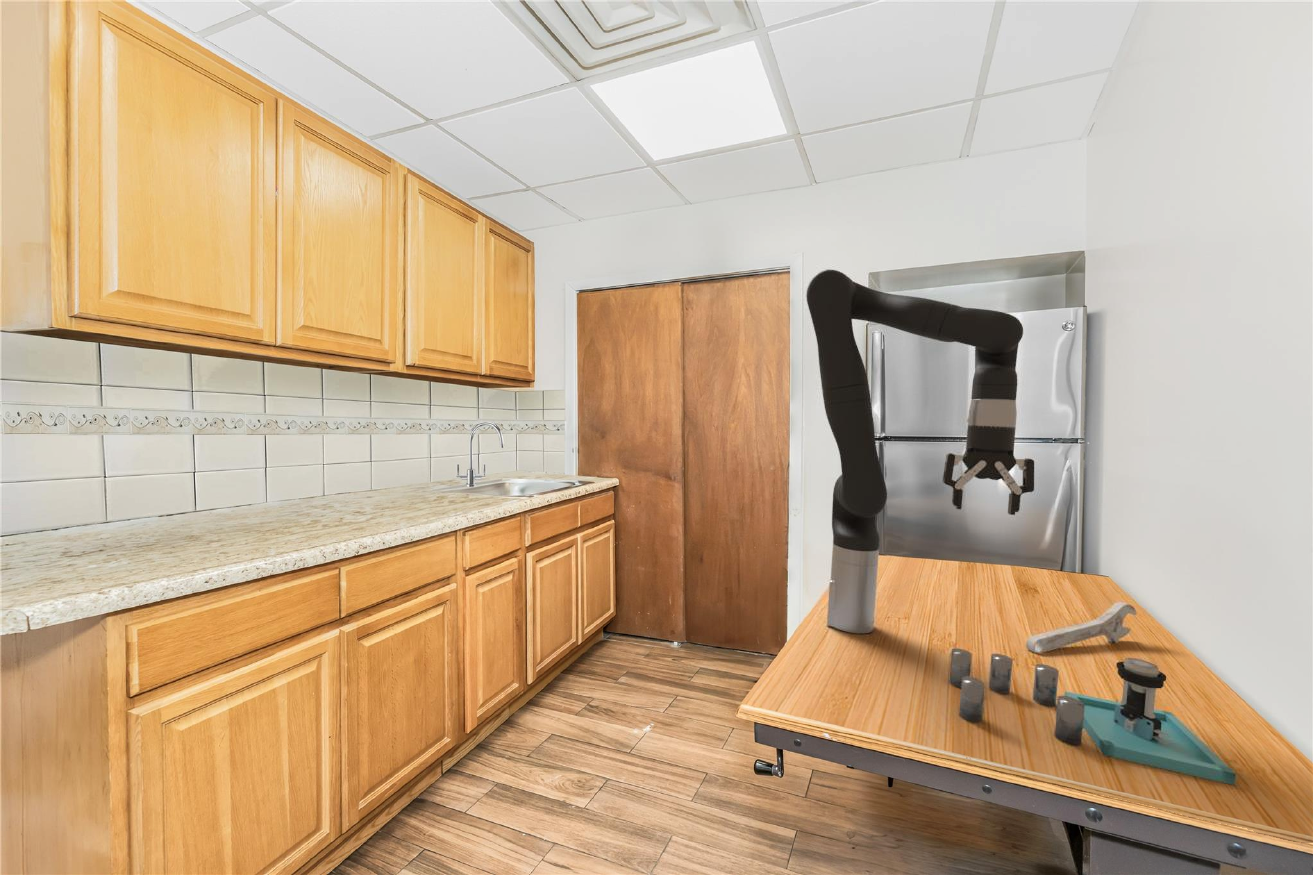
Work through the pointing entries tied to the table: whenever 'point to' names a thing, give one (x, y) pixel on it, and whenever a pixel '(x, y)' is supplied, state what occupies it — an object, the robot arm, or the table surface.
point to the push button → (1139, 698)
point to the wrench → (1085, 630)
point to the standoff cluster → (1000, 682)
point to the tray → (1152, 742)
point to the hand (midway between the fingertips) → (984, 511)
